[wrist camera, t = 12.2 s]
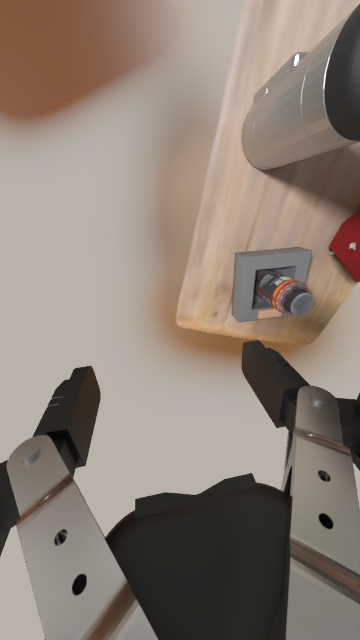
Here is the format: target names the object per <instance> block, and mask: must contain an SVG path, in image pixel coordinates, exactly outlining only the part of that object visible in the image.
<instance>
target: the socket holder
mask: <svg viewBox="0 0 360 640" xmlns="http://www.w3.org/2000/svg"><path fill="white" fill-rule="evenodd" d="M311 254H312V250H308V249H304V248H300V247H295V248H284V249H273V250H263V251H252V252H241V253H235V263H234V280H233V297H232V315H233V316H234V318H235V319H236V320H237V321H238V322H246V321H253V320H261V319H269V318H277V317H285V316H292V315H294V314H283V313H281V312H279V311H277V310H276V309H275V308H273V307H272V306H270V305H269V304H268V303H266V302H265V301H264V300H262V299H261V298H259V297H258V296H257V295H256V294H255V292H254V283H255V280H256V278H257V277H258V276H259V275H260V274H261V273H263V272H265V271H267V270H273V271H277V272H279V273H281V274H283V275H286V276H288V277H290V278H292V279H295V280H297V281H299V282H301V283H303V284H304V285H305V281H306V277H307V272H308V267H309V263H310V258H311Z"/></svg>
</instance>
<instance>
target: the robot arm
mask: <svg viewBox="0 0 360 640" xmlns="http://www.w3.org/2000/svg"><path fill="white" fill-rule="evenodd" d="M358 142H360V4H359V5H358V6H357V7H356V8H355V9H354V10H353V11H352V12H351V13H350V14H349V15H348V16H347V17H346V18H345V19H344V20H343V21H341V22H340V23H339V24H338V25H337V26H336V27H335V28H334V29H333V30H332V31H331V32H330V33H329V34H328V35H327V36H326V37H325V38H324V39H323V40H322V41H321V42H319V43H318V44H317V45H316V46H315V47H314V48H313V49H312V50H311V51H310V52H297V53H295V54H294V55H293V56H292V57H291V58H290V59H289V60H288V61H287V62H286V63H285V64H284V65H283V66H282V67H281V68H280V69H279V70H278V71H277V72H276V73H275V74H274V75H273V76H272V77H271V78H270V79H269V80H268V81H267V82H266V83H265V85H264V86H263V87H262V88H261V89H260V90H259V91H258V92H257V93H256V94H255V95H254V102H253V106H252V107H251V109H250V111H249V113H248V114H247V117H246V119H245V122H244V125H243V130H242V147H243V150H244V154H245V156H246V158H247V160H248V161H249V162H250V163H251V165H253V166H254V167H255V168H258V169H260V170H271V169H275V168H279V167H282V166H284V165H288V164H291V163H294V162H297V161H300V160H304V159H307V158H310V157H313V156H316V155H320V154H323V153H326V152H329V151H332V150H335V149H339V148H342V147H345V146H348V145H351V144H355V143H358ZM242 371H243V374H244V376H245V378H246V380H247V381H248V383H249V384H250V386H251V388H252V389H253V391H254V392H255V394H256V396H257V397H258V399H259V400H260V402H261V404H262V405H263V407H264V408H265V410H266V412H267V413H268V415H269V417H270V418H271V420H272V421H273V423H274V424H275V426H276V428H279V427H284V426H286V428H287V429H288V431H289V432H288V438H287V448H286V457H285V467H284V475H283V482H282V487H281V490H279V489H277V488H275V487H272V486H269V485H266V484H262V483H256V481H255V479H254V477H253V475H252V473H250V474H246V475H242V476H237V477H233V478H228V479H224V480H223V481H221V482H219V483H217V484H216V485H214V486H212V487H210V488H209V489H207V490H205V491H204V492H202V493H200V494H198V495H190V494H178V493H166V492H165V493H161V494H157V495H152V496H147V497H143V498H138V499H135V510H134V511H133V512H131V513H129V514H128V515H127V516H125V517H124V518H123V519H122V520H121V521H119V522H118V523H117V524H116V525H115V527H114V528H113V529H112V530H111V531H110V532H109V534H108V535H107V536H106V538H105V536H104V534H103V532H102V531H101V529H100V527H99V525H98V523H97V522H96V520H95V518H94V516H93V514H92V512H91V510H90V509H89V507H88V505H87V503H86V501H85V499H84V497H83V496H82V494H81V492H80V490H79V488H78V486H77V484H76V483H75V481H74V479H73V476H74V472H75V469H76V468H78V467H82V466H85V465H86V461H87V457H88V452H89V448H90V443H91V439H92V434H93V430H94V425H95V421H96V416H97V412H98V408H99V403H100V388H99V385H98V382H97V380H96V376H95V373H94V370H93V368H92V366H86V367H80V368H75V369H74V370H73V373H72V375H71V377H70V379H69V380H64V381H63V382H62V383H61V384H60V385H59V386H58V387H57V389H56V390H55V392H54V394H53V396H52V400H50V402H49V404H48V407H47V409H46V411H45V412H44V415H43V417H42V419H41V421H40V423H39V425H38V427H37V429H36V431H35V433H34V435H33V437H32V438H30V439H28V440H26V441H24V442H23V443H22V444H21V445H19V446H18V447H17V448H16V449H15V450H14V451H13V453H12V454H11V456H10V457H9V459H8V460H7V461H5V462H3V463H0V556H1V553H2V550H3V547H4V545H5V542H6V539H7V537H8V534H9V531H10V529H11V528H12V527H13V526H15V525H17V530H18V535H19V539H20V542H21V546H22V550H23V554H24V558H25V562H26V566H27V570H28V574H29V577H30V581H31V585H32V589H33V592H34V597H35V600H36V604H37V608H38V612H39V616H40V619H41V623H42V627H43V631H44V635H45V640H360V508H359V502H358V495H357V489H356V482H355V476H354V468H353V463H354V464H355V465H356V466H357V468H358V469H359V470H360V393H359V396H358V398H357V400H355V399H343V398H335V397H334V396H333V395H332V394H331V393H330V392H328V391H326V390H324V389H322V388H319V387H315V386H310V385H309V384H308V383H307V382H306V381H305V380H304V378H303V377H301V375H300V374H299V373H298V372H297V371H296V370H295V369H294V368H293V367H292V366H290V364H289V363H288V362H287V361H285V359H284V358H283V357H282V356H281V355H280V354H279V353H278V352H276V351H274V350H273V349H271V348H265V346H264V345H263V344H262V343H261V342H260V341H259V340H256V341H249V342H244V343H243V352H242ZM352 461H353V462H352Z"/></svg>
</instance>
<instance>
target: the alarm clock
mask: <svg viewBox="0 0 360 640" xmlns="http://www.w3.org/2000/svg"><path fill="white" fill-rule="evenodd" d="M329 247H330V248H331V250H332V251H330V252H329V255H336V257H337V258H338V260H339V261H340V262H341V264H342V265H343V267H344V268H345V269H346V270H347V271H348V273H349V274H350V275H351V276H352V277H353V279H354V280H355V281H356V282H360V212H358V213H357V214H355V215H354V216H352V217H351V218H349V219H348V220H346V221H345V222H343V224H342V225H341V227H340V229H339V230H338V232H337V234H336V236H335V237H334V239H333V241H332V242H331V244H330V246H329Z"/></svg>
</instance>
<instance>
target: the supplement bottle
mask: <svg viewBox="0 0 360 640" xmlns="http://www.w3.org/2000/svg"><path fill="white" fill-rule="evenodd" d="M254 292H255V294H256V295H257V296H258V297H259V298H261V299H262V300H264V301H265V302H266V303H268V304H269V305H270V306H272V307H273V308H275V309H276V310H277V311H279V312H281V313H283V314H294V315H296V316H301V315H304V314H306V313H307V312H309V311H310V310H311V308H312V306H313V304H314V298H313V296H312V295H311V294H310V293H308V289H307V287H306V286H305V285H304V284H303V283H301V282H299V281H297V280H295V279H292V278H290V277H288V276H286V275H283V274H281V273H279V272H277V271H273V270H267V271H265V272H263V273H261V274H260V275H259V276H258V277H257V278H256V280H255V283H254Z"/></svg>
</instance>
